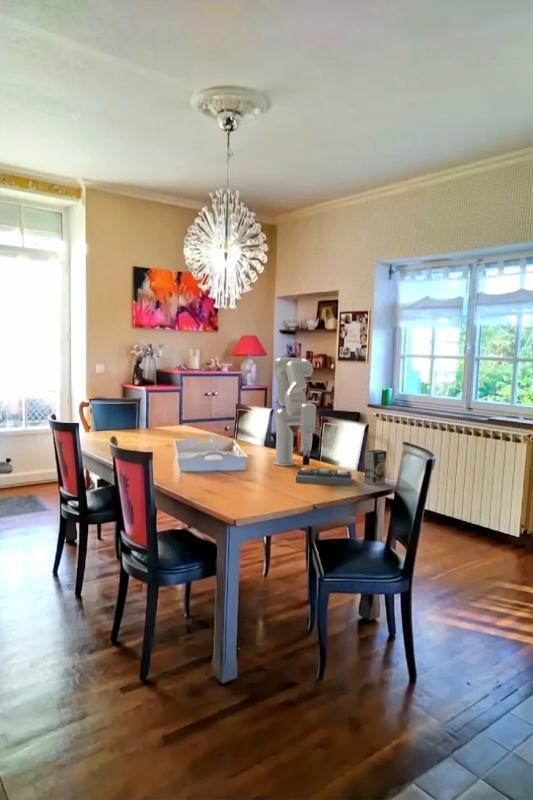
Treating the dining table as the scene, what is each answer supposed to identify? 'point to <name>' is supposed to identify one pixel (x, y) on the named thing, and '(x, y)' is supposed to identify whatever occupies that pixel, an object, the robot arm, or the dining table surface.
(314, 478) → the button panel
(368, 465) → the coffee box
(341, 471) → the cream button
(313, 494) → the dining table surface
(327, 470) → the sage button
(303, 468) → the terracotta button
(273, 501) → the dining table surface
